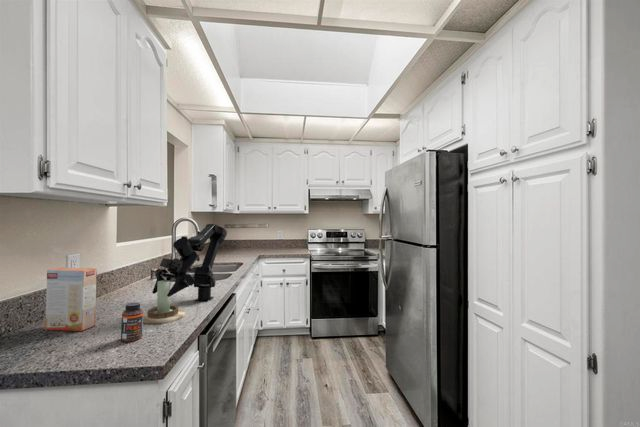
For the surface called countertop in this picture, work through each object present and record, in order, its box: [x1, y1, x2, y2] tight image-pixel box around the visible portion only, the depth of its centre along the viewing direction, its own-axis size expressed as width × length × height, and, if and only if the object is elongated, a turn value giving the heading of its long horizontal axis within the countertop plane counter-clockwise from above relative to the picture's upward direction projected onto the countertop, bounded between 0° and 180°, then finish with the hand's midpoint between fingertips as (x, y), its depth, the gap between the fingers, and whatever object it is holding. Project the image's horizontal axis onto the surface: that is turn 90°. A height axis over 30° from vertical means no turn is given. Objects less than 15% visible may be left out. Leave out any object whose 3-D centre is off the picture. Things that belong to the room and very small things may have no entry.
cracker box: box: [44, 267, 98, 332], centre depth 104 cm, size 14×6×21 cm, turn 84°
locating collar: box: [143, 304, 186, 325], centre depth 117 cm, size 16×16×3 cm
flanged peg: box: [154, 280, 173, 313], centre depth 117 cm, size 7×7×13 cm
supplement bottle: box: [120, 301, 144, 343], centre depth 95 cm, size 6×6×11 cm
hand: (160, 294), depth 116 cm, fingers open, 9 cm apart
